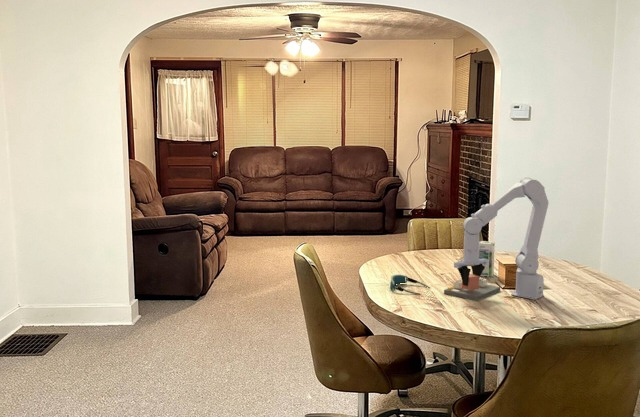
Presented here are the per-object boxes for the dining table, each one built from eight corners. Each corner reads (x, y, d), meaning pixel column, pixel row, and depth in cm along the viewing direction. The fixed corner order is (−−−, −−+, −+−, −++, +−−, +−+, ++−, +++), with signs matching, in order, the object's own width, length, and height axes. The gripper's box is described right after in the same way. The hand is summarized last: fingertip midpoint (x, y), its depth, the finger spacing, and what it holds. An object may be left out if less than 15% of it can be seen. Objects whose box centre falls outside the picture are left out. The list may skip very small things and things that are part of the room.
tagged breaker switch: (462, 287, 235) (463, 280, 234) (458, 289, 233) (459, 282, 232) (457, 286, 236) (457, 279, 236) (453, 288, 234) (453, 280, 234)
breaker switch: (486, 285, 238) (486, 278, 237) (482, 286, 236) (482, 279, 235) (480, 284, 239) (481, 277, 239) (477, 285, 237) (477, 278, 237)
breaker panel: (500, 290, 236) (500, 284, 236) (477, 300, 223) (477, 294, 223) (467, 284, 246) (468, 278, 245) (444, 293, 233) (444, 287, 232)
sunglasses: (397, 283, 250) (399, 271, 249) (432, 292, 243) (433, 280, 242) (383, 291, 238) (385, 279, 237) (418, 301, 231) (420, 289, 230)
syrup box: (477, 276, 259) (478, 242, 257) (480, 273, 264) (481, 240, 262) (490, 277, 257) (492, 243, 255) (493, 274, 262) (495, 241, 260)
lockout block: (478, 289, 230) (479, 276, 229) (469, 290, 228) (470, 277, 227) (471, 286, 234) (471, 273, 233) (462, 287, 232) (462, 274, 231)
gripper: (462, 253, 222) (461, 289, 224) (493, 249, 228) (492, 284, 230) (450, 249, 228) (449, 284, 230) (481, 246, 235) (479, 280, 237)
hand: (470, 284), depth 231 cm, fingers closed on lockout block, 4 cm apart
